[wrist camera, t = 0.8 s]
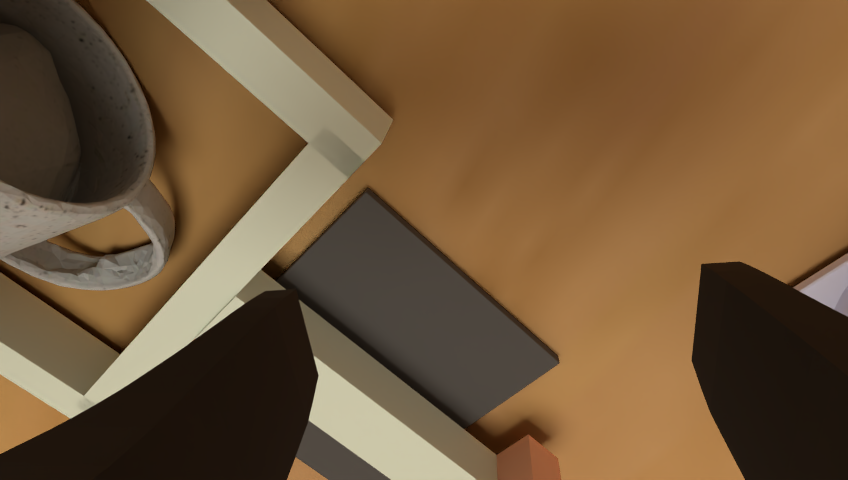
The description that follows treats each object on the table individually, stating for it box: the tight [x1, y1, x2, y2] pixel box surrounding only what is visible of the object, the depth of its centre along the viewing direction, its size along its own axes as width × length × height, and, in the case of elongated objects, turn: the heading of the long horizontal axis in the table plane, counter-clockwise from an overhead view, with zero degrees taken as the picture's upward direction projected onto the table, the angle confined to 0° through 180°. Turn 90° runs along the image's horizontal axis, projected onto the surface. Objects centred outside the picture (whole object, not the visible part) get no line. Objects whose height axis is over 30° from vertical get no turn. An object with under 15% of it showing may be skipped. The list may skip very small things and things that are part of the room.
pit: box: [276, 188, 559, 480], centre depth 23 cm, size 10×12×1 cm
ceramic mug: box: [0, 0, 175, 290], centre depth 17 cm, size 11×8×8 cm
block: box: [0, 0, 561, 480], centre depth 20 cm, size 28×17×4 cm, turn 46°
